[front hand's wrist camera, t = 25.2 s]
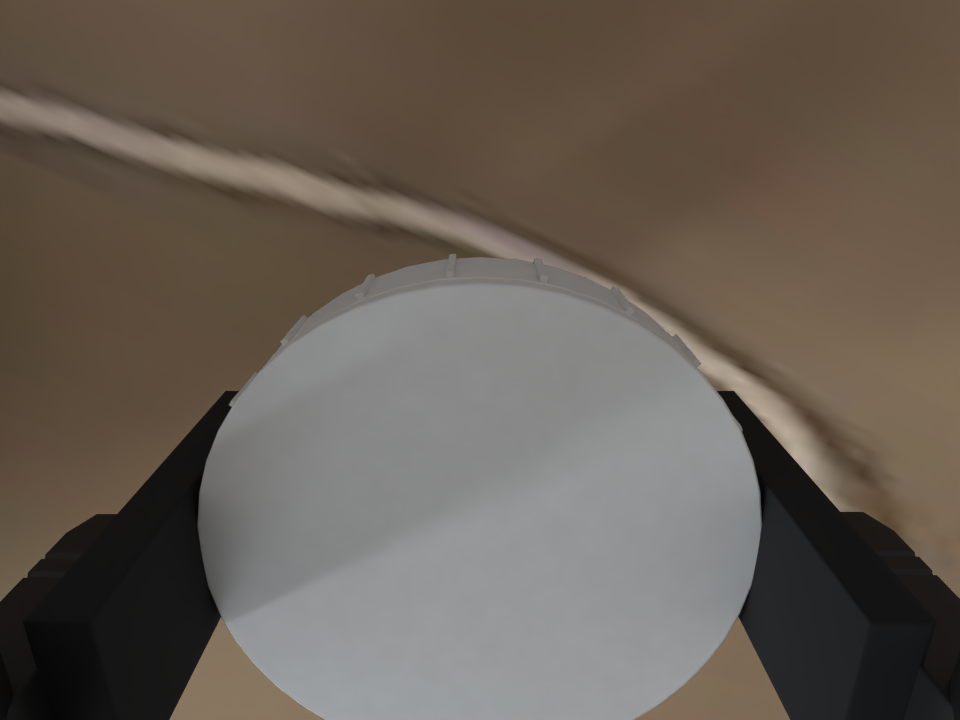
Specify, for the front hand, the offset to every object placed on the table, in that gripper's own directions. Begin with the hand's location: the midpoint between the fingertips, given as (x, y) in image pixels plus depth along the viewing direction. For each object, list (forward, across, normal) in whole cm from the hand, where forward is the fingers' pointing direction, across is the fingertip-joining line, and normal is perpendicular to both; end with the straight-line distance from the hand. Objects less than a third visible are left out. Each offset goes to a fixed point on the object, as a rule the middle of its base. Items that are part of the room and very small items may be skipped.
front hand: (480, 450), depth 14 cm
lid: (-3, 0, 0) cm, 3 cm away
